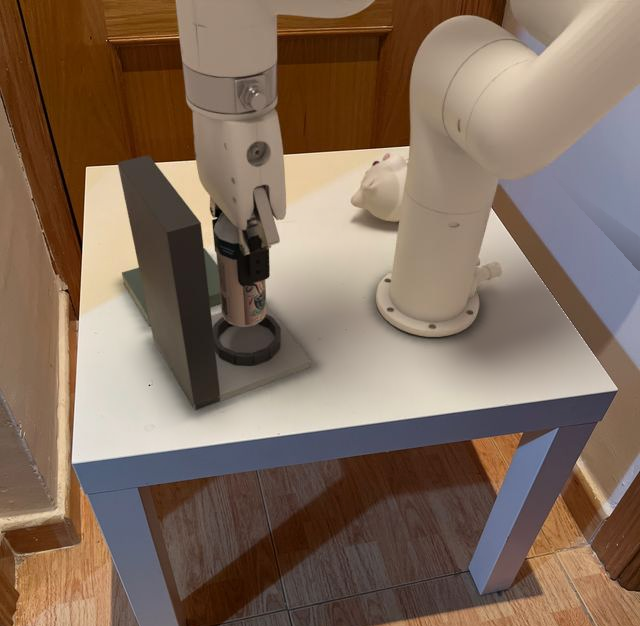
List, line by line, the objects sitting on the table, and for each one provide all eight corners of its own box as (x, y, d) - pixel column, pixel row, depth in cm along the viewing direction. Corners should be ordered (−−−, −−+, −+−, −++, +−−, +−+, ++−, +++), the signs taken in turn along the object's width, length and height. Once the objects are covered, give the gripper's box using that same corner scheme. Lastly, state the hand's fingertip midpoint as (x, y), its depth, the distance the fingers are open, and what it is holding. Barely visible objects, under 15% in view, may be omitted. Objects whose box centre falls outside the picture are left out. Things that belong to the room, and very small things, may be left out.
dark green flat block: (205, 259, 89) (203, 235, 86) (235, 299, 84) (233, 276, 81) (123, 283, 85) (118, 260, 83) (150, 327, 80) (145, 303, 78)
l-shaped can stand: (263, 304, 84) (256, 129, 67) (311, 367, 77) (317, 189, 60) (153, 341, 79) (117, 162, 62) (194, 411, 72) (166, 232, 55)
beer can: (259, 333, 73) (256, 237, 64) (216, 326, 73) (206, 229, 64) (271, 304, 76) (269, 209, 67) (229, 298, 76) (221, 202, 67)
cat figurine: (456, 134, 93) (363, 145, 87) (477, 188, 92) (384, 202, 86) (421, 173, 102) (334, 185, 96) (440, 222, 101) (353, 238, 95)
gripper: (323, 117, 52) (315, 303, 66) (229, 35, 62) (239, 213, 76) (233, 138, 50) (244, 327, 64) (149, 49, 59) (175, 231, 73)
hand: (241, 264), depth 70 cm, fingers closed on beer can, 4 cm apart
